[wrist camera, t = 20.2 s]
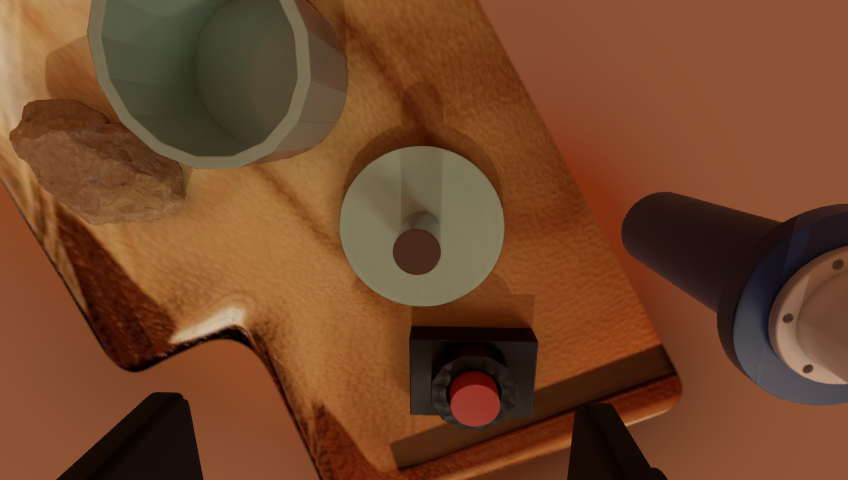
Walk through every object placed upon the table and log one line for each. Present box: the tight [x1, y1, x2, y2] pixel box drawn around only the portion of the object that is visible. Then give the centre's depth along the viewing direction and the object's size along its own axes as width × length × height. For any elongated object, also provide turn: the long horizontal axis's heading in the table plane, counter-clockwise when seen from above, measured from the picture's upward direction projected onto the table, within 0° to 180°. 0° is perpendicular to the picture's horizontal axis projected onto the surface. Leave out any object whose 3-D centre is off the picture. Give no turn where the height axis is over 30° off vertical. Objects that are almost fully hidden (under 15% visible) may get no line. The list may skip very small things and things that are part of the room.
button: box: [450, 371, 500, 427], centre depth 30 cm, size 4×4×2 cm
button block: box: [409, 326, 538, 430], centre depth 32 cm, size 10×7×4 cm
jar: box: [87, 0, 347, 169], centre depth 24 cm, size 11×11×8 cm
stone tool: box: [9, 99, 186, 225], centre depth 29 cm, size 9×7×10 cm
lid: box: [339, 146, 504, 306], centre depth 28 cm, size 12×12×7 cm
